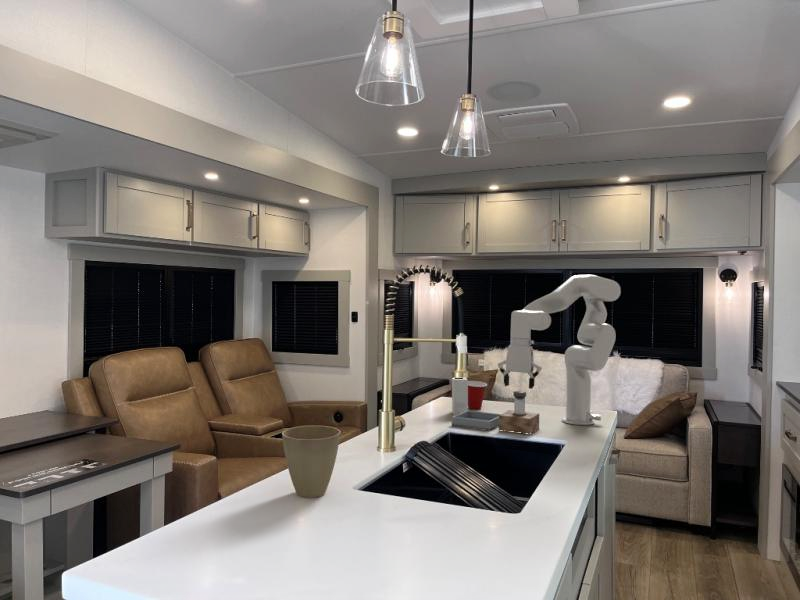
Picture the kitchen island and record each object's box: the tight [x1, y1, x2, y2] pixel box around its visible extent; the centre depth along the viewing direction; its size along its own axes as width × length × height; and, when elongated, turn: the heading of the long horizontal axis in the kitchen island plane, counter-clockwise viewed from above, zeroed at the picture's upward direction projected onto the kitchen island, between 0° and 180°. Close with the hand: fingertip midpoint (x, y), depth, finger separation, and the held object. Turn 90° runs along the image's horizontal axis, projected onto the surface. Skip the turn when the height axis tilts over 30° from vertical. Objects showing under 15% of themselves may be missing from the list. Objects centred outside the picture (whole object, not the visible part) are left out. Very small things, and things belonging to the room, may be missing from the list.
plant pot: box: [281, 425, 341, 499], centre depth 151 cm, size 15×15×16 cm
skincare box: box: [451, 377, 469, 416], centre depth 256 cm, size 8×7×16 cm
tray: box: [451, 409, 502, 431], centre depth 235 cm, size 16×16×4 cm
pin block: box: [498, 409, 540, 435], centre depth 227 cm, size 12×12×6 cm
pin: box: [513, 390, 527, 416], centre depth 227 cm, size 5×5×15 cm
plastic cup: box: [468, 380, 488, 411], centre depth 268 cm, size 11×11×12 cm
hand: (518, 387), depth 226 cm, fingers open, 9 cm apart
